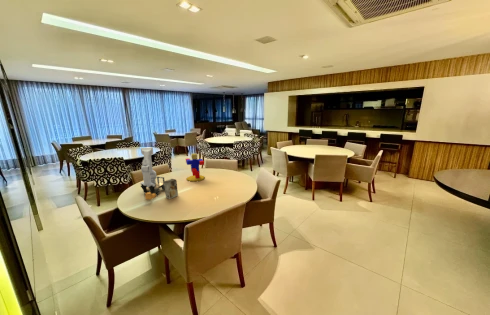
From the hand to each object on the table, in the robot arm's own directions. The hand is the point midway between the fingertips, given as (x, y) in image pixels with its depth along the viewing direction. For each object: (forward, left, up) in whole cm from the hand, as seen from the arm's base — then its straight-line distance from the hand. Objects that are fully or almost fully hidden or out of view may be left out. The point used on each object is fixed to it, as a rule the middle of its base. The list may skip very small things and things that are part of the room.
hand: (148, 192), depth 174 cm
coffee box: (+17, +9, -6) cm, 20 cm away
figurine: (+11, +59, -6) cm, 61 cm away
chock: (0, +2, -6) cm, 6 cm away
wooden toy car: (-6, +14, -6) cm, 17 cm away
